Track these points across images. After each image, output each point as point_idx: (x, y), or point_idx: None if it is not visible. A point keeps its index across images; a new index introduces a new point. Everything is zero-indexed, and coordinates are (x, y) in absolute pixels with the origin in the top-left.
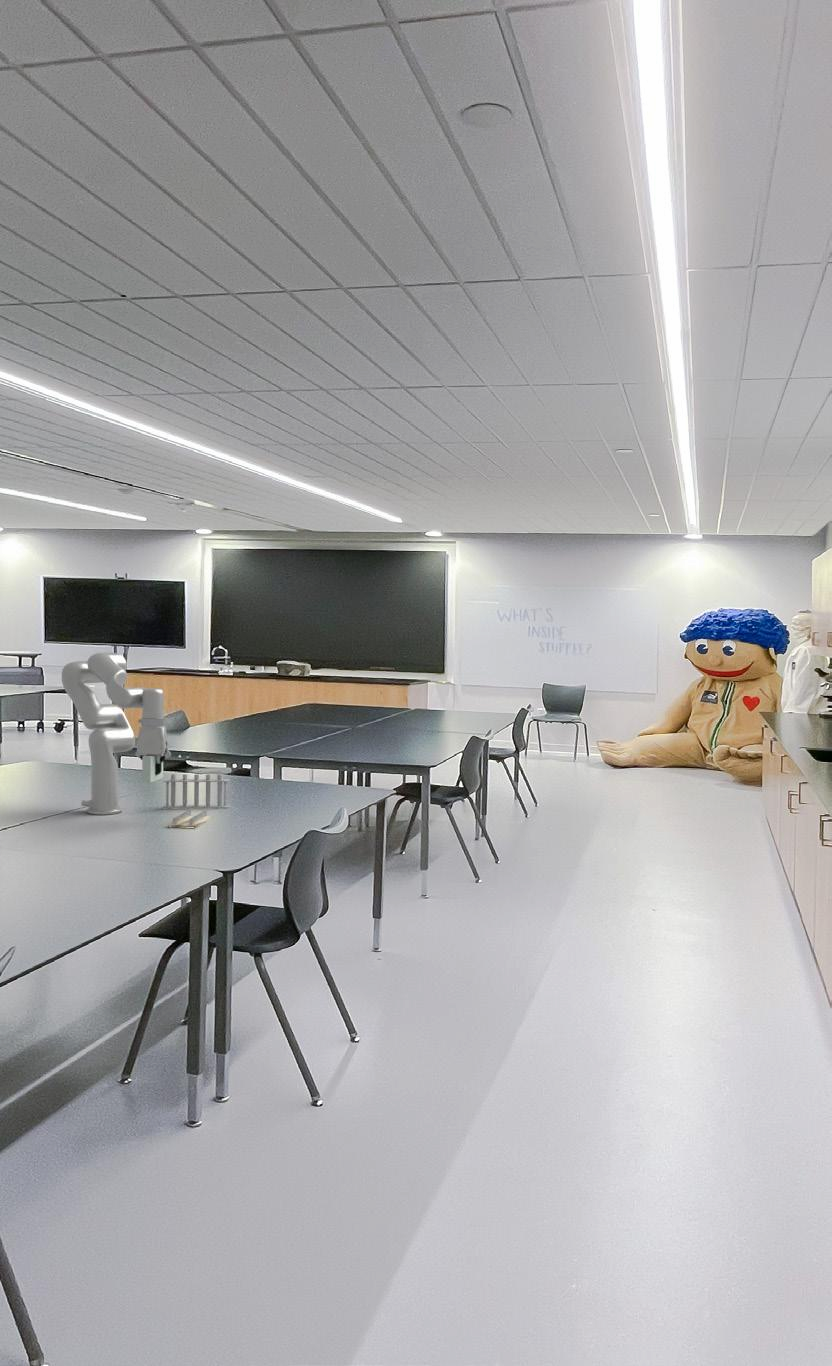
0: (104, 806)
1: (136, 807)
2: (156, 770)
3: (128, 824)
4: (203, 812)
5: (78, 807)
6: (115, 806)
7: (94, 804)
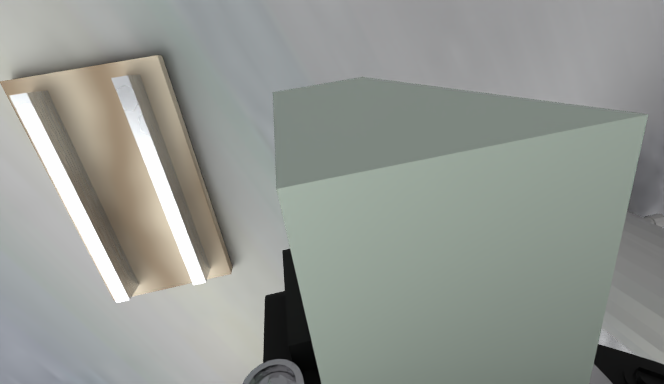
0: None
1: None
2: (292, 272)
3: (375, 56)
4: (108, 275)
5: None
6: None
7: None
